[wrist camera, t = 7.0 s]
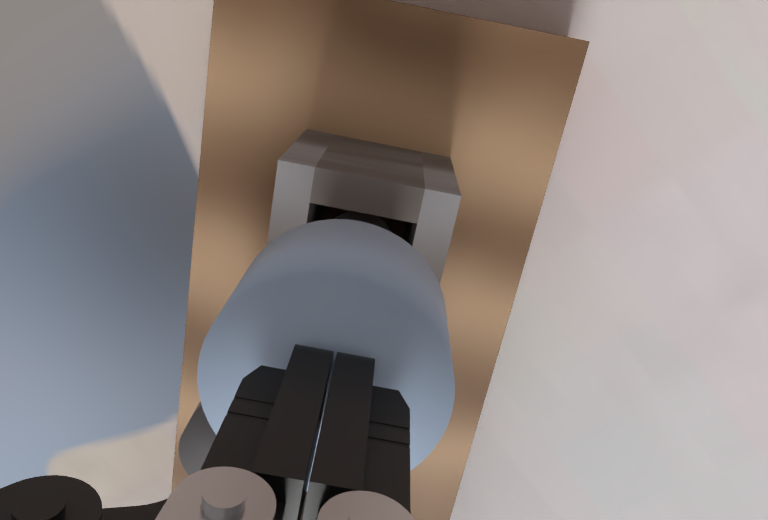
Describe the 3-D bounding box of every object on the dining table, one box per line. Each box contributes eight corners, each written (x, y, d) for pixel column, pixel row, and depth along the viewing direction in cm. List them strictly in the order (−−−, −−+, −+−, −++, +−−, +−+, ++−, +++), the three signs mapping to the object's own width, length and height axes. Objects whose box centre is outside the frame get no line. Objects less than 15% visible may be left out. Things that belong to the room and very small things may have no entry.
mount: (241, -29, 23) (157, -51, 15) (567, 38, 23) (643, 49, 16) (185, 527, 32) (117, 682, 24) (418, 568, 32) (421, 734, 25)
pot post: (240, 303, 24) (182, 402, 18) (318, 318, 24) (287, 421, 18) (232, 371, 25) (175, 486, 19) (307, 385, 25) (274, 504, 19)
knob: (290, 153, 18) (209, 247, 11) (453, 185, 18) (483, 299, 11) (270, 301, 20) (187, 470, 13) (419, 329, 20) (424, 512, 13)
